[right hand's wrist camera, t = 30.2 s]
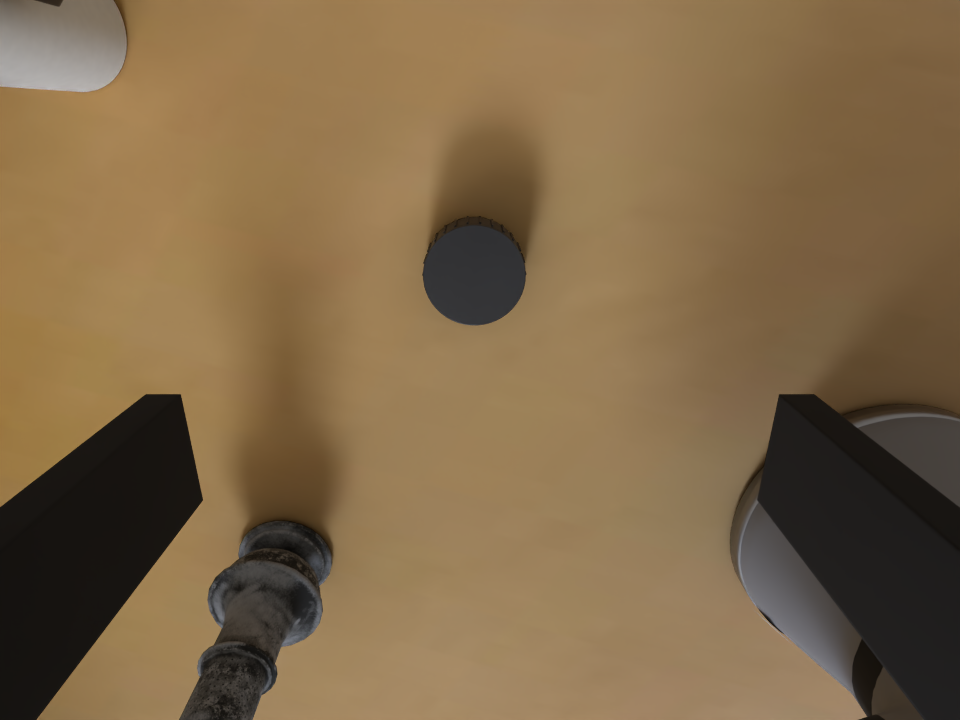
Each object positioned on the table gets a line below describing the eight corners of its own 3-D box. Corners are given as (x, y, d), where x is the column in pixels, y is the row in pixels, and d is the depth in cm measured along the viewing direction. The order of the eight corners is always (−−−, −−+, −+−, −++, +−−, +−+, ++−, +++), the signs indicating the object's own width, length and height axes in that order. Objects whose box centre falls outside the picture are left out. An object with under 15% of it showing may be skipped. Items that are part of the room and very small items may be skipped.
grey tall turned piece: (215, 564, 33) (85, 786, 22) (268, 498, 31) (156, 703, 20) (301, 612, 35) (221, 842, 24) (357, 551, 33) (298, 770, 22)
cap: (494, 326, 28) (496, 342, 26) (409, 285, 27) (404, 298, 25) (540, 244, 26) (546, 254, 24) (452, 197, 26) (450, 204, 24)
